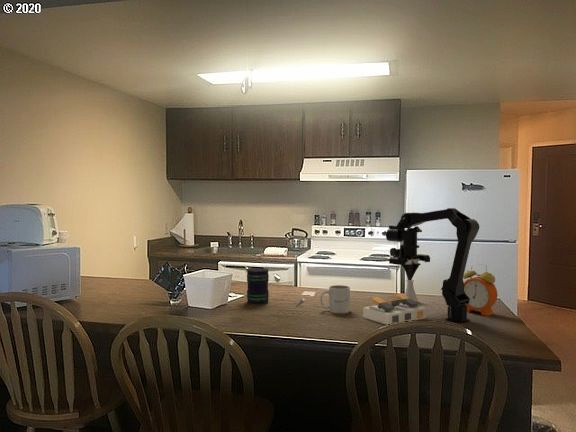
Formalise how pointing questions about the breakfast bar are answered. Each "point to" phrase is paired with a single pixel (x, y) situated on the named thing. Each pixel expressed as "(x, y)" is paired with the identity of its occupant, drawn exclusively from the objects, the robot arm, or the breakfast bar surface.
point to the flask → (410, 291)
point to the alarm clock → (480, 292)
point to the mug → (338, 299)
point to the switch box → (394, 314)
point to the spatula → (305, 294)
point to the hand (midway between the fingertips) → (409, 280)
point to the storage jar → (257, 286)
